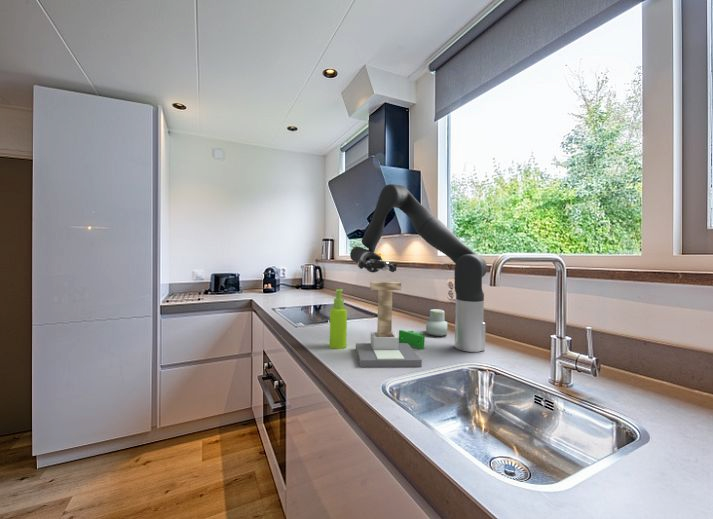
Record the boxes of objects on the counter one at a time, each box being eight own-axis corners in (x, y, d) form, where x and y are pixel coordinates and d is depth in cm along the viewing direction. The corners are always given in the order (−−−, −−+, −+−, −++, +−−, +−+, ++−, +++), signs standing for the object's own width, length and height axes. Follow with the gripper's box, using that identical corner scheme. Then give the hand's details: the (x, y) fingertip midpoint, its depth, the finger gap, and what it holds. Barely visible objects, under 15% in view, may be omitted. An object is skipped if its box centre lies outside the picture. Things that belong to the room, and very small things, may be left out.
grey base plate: (407, 348, 109) (407, 331, 108) (421, 366, 92) (422, 346, 92) (355, 349, 107) (356, 331, 107) (360, 367, 90) (360, 346, 90)
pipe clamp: (428, 348, 111) (429, 335, 111) (422, 350, 109) (422, 336, 109) (405, 340, 120) (405, 328, 120) (398, 342, 117) (399, 329, 117)
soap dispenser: (347, 343, 113) (348, 288, 113) (345, 349, 106) (346, 290, 106) (331, 342, 114) (332, 288, 114) (327, 348, 107) (329, 290, 107)
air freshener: (426, 330, 136) (427, 307, 136) (446, 332, 134) (447, 308, 133) (425, 336, 125) (426, 312, 125) (447, 338, 123) (447, 313, 123)
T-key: (397, 344, 106) (399, 282, 106) (400, 348, 102) (401, 283, 102) (368, 344, 105) (369, 281, 105) (369, 348, 101) (371, 282, 101)
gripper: (354, 251, 125) (364, 256, 110) (388, 253, 129) (402, 259, 113) (353, 269, 126) (362, 277, 111) (386, 271, 130) (399, 280, 114)
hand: (382, 268), depth 112 cm, fingers open, 8 cm apart
